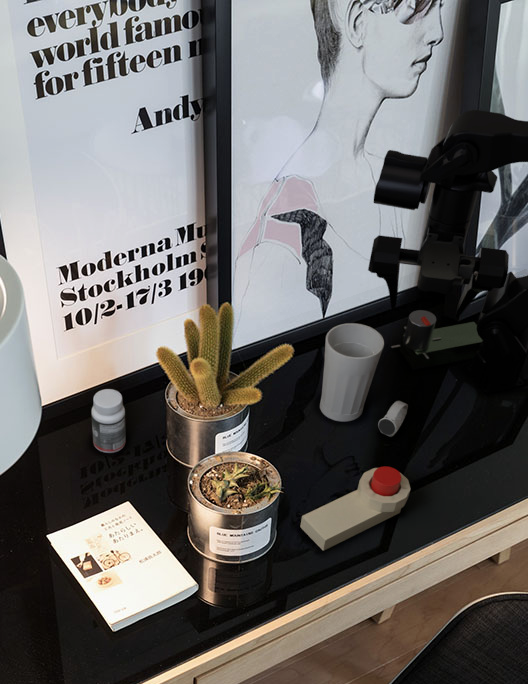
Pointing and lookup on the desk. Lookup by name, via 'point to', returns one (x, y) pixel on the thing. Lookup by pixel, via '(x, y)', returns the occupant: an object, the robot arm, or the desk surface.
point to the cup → (349, 369)
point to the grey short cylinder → (396, 414)
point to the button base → (353, 512)
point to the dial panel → (445, 346)
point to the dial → (419, 330)
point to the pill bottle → (108, 421)
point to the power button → (386, 481)
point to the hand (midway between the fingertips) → (424, 312)
